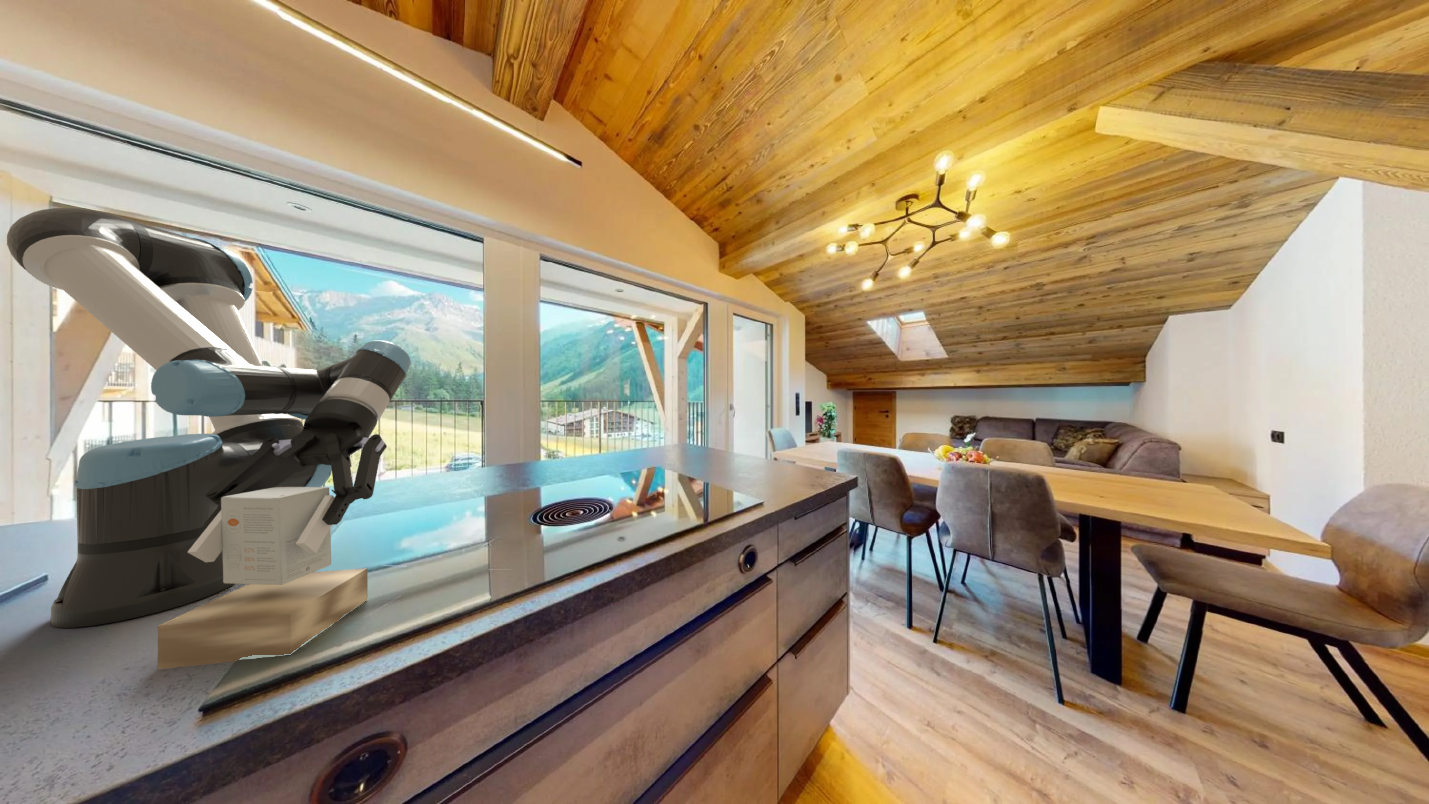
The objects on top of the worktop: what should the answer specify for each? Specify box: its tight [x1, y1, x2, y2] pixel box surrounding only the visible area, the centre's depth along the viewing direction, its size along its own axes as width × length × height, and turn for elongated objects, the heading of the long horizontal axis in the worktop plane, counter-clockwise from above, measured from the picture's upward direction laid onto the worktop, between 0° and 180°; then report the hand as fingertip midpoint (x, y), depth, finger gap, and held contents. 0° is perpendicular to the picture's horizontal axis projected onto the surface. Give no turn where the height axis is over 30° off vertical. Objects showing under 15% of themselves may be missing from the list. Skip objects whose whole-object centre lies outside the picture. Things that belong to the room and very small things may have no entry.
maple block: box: [157, 567, 369, 670], centre depth 47 cm, size 12×12×5 cm
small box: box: [221, 486, 332, 585], centre depth 47 cm, size 8×6×10 cm
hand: (254, 552), depth 44 cm, fingers closed on small box, 9 cm apart
